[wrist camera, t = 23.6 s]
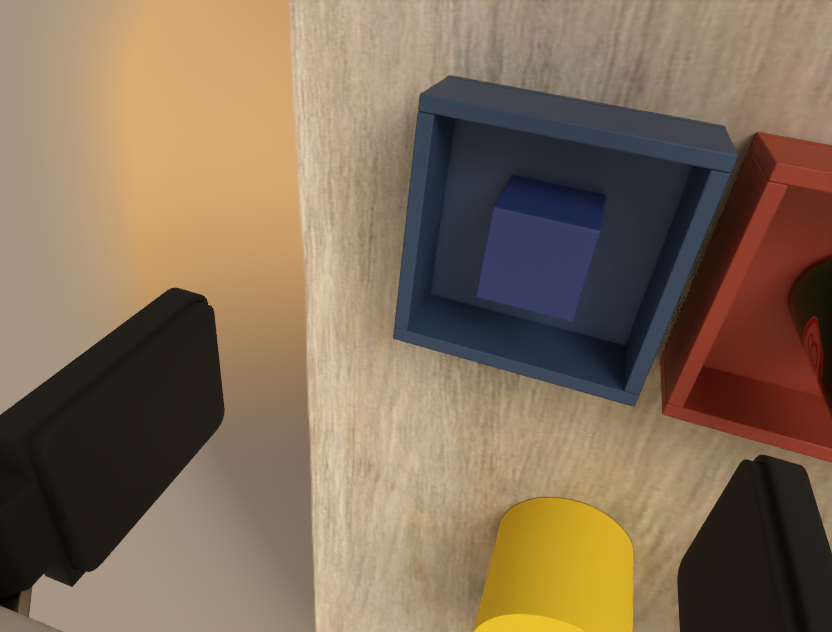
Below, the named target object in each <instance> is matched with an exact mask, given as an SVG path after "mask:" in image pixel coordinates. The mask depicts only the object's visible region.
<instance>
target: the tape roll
mask: <svg viewBox="0 0 832 632" xmlns="http://www.w3.org/2000/svg"><path fill="white" fill-rule="evenodd" d="M633 568H634V552H633V547H632V544H631V541H630V539H629V537H628V536H627V534H626V533H625V531H624V530H623V529H622V528H621V527H620V526H619V525H618V524H617V523H616V522H615V521H614V520H613V519H612V518H610V517H609V516H607V515H606V514H604V513H603V512H601V511H599V510H597V509H595V508H593V507H591V506H589V505H586V504H584V503H580V502H577V501H573V500H569V499H563V498H536V499H531V500H527V501H524V502H522V503H519V504H517V505H516V506H514V507H512V508H511V509H510V510H509V511H508V512H507V513H506V514H505V515H504V517H503V518H502V520H501V522H500V526H499V530H498V534H497V538H496V542H495V546H494V550H493V554H492V558H491V562H490V566H489V570H488V574H487V578H486V582H485V586H484V590H483V594H482V598H481V602H480V606H479V610H478V614H477V618H476V622H475V626H474V630H473V632H633Z"/></svg>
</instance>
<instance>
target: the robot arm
mask: <svg viewBox="0 0 832 632" xmlns="http://www.w3.org/2000/svg"><path fill="white" fill-rule="evenodd" d="M223 416H224V401H223V392H222V381H221V372H220V363H219V353H218V344H217V334H216V325H215V315H214V310H213V308H212V306H210V305H208V302H207V299H206V298H205V296H203V295H200V294H197V293H193V292H190V291H187V290H183V289H179V288H171V289H169V290H167V291H166V292H165V293H163V294H162V295H161V296H160V297H158V298H156V299H155V300H154V301H152V302H151V303H150V304H148V305H147V306H146V307H144V308H143V309H142V310H140V311H139V312H138V313H136V314H135V315H134V316H132V317H131V318H130V319H128V320H127V321H126V322H124V323H123V324H122V325H120V326H119V327H118V328H116V329H115V330H114V331H112V332H111V333H110V334H108V335H107V336H106V337H104V338H103V339H102V340H100V341H99V342H97V343H96V344H95V345H93V346H92V347H91V348H89V349H88V350H87V351H85V352H84V353H83V354H81V355H80V356H79V357H77V358H76V359H75V360H73V361H72V362H71V363H69V364H68V365H67V366H65V367H64V368H63V369H61V370H60V371H59V372H57V373H56V374H55V375H53V376H52V377H51V378H49V379H48V380H47V381H45V382H44V383H43V384H41V385H40V386H38V387H37V388H36V389H34V390H33V391H32V392H30V393H29V394H28V395H26V396H25V397H24V398H22V399H21V400H20V401H18V402H17V403H16V404H15V405H13V406H12V407H11V408H9V409H8V410H6V411H5V412H4V413H2V414H1V415H0V632H62V631H60V630H57V629H56V628H53V627H51V626H48V625H46V624H44V623H41V622H39V621H36V620H34V619H31V618H29V611H30V602H31V592H32V586H33V585H34V584H35V582H36V581H37V580H38V579H39V578H40V577H41V576H42V575H43V574H45V576H47V577H49V578H52V579H54V580H57V581H59V582H61V583H64V584H66V585H69V586H71V587H73V585H75V583H76V582H77V581H78V580H79V579H80V578H81V576H82V575H83V574H84V573H85V572H86V571H87V572H90V571H93V570H95V569H96V568H98V567H99V566H100V565H101V564H102V563H103V561H104V560H105V559H106V558H107V557H108V555H110V553H111V552H112V551H113V550H114V549H115V548H116V546H117V545H118V544H119V543H120V542H121V541H122V539H123V538H124V537H125V536H126V535H127V534H128V532H129V531H130V530H131V529H132V528H133V527H134V526H135V524H136V523H137V522H138V521H139V520H140V519H141V517H142V516H143V515H144V514H145V513H146V512H147V510H148V509H149V508H150V507H151V506H152V504H153V503H154V502H155V501H156V500H157V499H158V498H159V497H160V495H161V494H162V493H163V492H164V491H165V490H166V488H167V487H168V486H169V485H170V483H172V481H173V480H174V479H175V478H176V477H177V476H178V474H179V473H180V472H181V471H182V470H183V469H184V467H185V466H186V465H187V464H188V463H189V462H190V460H191V459H192V458H193V457H194V456H195V455H196V454H197V452H198V451H199V450H200V449H201V448H202V447H203V445H204V444H205V443H206V442H207V441H208V440H209V438H210V437H211V436H212V435H213V434H214V433H215V432H216V430H217V429H218V428H219V426H220V424H221V423H222V420H223ZM678 602H679V621H680V632H832V553H831V550H830V546H829V543H828V540H827V536H826V533H825V530H824V527H823V523H822V520H821V517H820V514H819V510H818V507H817V504H816V500H815V497H814V494H813V491H812V487H811V484H810V481H809V478H808V474H807V472H806V470H805V468H804V467H803V466H801V465H798V464H795V463H791V462H788V461H784V460H781V459H777V458H774V457H770V456H767V455H759V456H758V457H756V458H755V460H754V461H750V460H743V461H742V462H741V463H740V464H739V466H738V468H737V469H736V471H735V473H734V474H733V476H732V478H731V479H730V481H729V483H728V484H727V486H726V487H725V489H724V491H723V492H722V494H721V496H720V497H719V499H718V501H717V502H716V504H715V506H714V507H713V509H712V511H711V512H710V514H709V516H708V517H707V519H706V521H705V522H704V524H703V526H702V527H701V529H700V530H699V532H698V534H697V535H696V537H695V539H694V540H693V542H692V544H691V545H690V547H689V549H688V550H687V552H686V554H685V555H684V557H683V559H682V561H681V563H680V566H679V571H678Z"/></svg>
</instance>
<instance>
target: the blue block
mask: <svg viewBox="0 0 832 632" xmlns="http://www.w3.org/2000/svg"><path fill="white" fill-rule="evenodd" d="M605 199H606V195H603V194H599V193H594V192H589V191H585V190H580V189H575V188H571V187H566V186H561V185H557V184H552V183H547V182H543V181H538V180H533V179H529V178H524V177H519V176H515V175H512V176H511V178H510V180H509V181H508V183H507V185H506V186H505V188H504V190H503V191H502V193H501V195H500V197H499V198H498V200H497V202H496V203H495V205H494V207H493V210H492V215H491V220H490V226H489V231H488V236H487V241H486V246H485V251H484V256H483V262H482V267H481V272H480V277H479V282H478V287H477V293H476V297H478V298H481V299H485V300H489V301H493V302H497V303H501V304H504V305H508V306H512V307H516V308H520V309H524V310H528V311H531V312H535V313H539V314H543V315H547V316H551V317H554V318H558V319H562V320H566V321H570V322H573V320H574V317H575V314H576V311H577V307H578V304H579V301H580V298H581V294H582V291H583V288H584V285H585V281H586V278H587V275H588V272H589V268H590V265H591V262H592V259H593V255H594V252H595V249H596V246H597V242H598V239H599V236H600V233H601V226H602V219H603V213H604V206H605Z"/></svg>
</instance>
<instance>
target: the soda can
mask: <svg viewBox="0 0 832 632" xmlns="http://www.w3.org/2000/svg"><path fill="white" fill-rule="evenodd" d="M789 313H790V316H791V319H792V322H793V324H794V327H795V329H796V332H797V334H798V337H799V339H800V341H801V344H802V346H803V349H804V351H805V354H806V356H807V359H808V361H809V364H810V366H811V368H812V371H813V373H814V376H815V378H816V381H817V383H818V386H819V388H820V391H821V393H822V396H823V398H824V400H825V403H826V405H827V408H828V410H829V413H830V415H831V418H832V259H831V260H828V261H826V262H824V263H822V264H820V265H818V266H816V267H814V268H813V269H812V270H810V271H809V272H807V273H806V274H805V275H804V276H803V277H802V278H801V279H800V280H799V282H798V283H797V284H796V286H795V287H794V289H793V291H792V294H791V297H790V301H789Z"/></svg>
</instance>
